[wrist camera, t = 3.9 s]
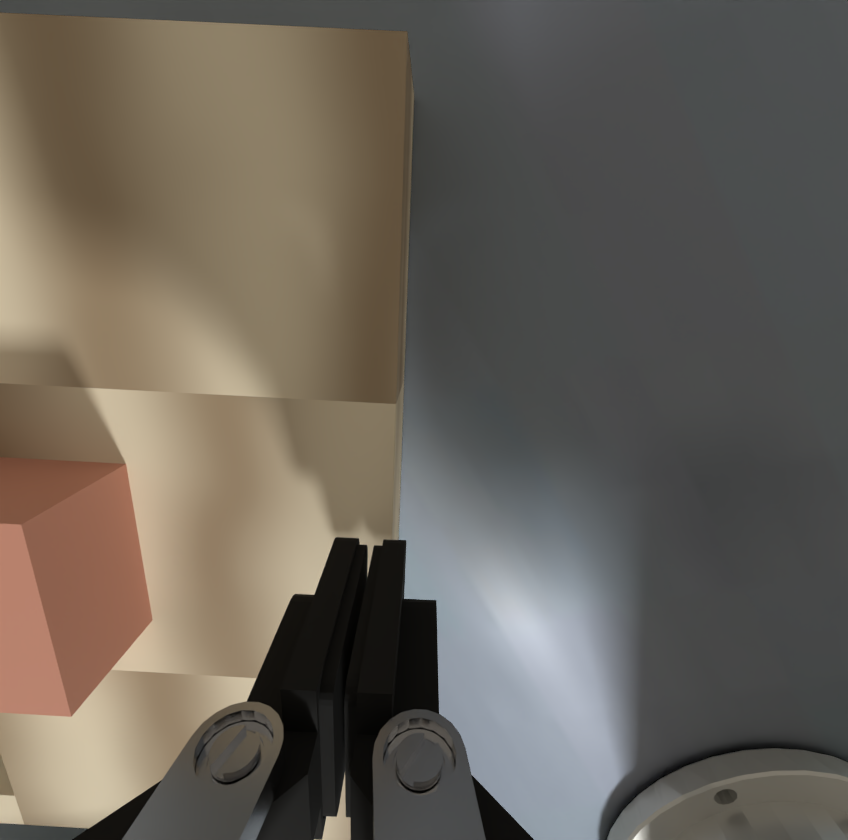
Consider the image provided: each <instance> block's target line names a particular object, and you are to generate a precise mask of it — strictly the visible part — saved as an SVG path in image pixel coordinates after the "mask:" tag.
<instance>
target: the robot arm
mask: <svg viewBox="0 0 848 840" xmlns="http://www.w3.org/2000/svg"><path fill="white" fill-rule="evenodd" d="M405 559H406V540H387V539H384V540H383V544H382V546H381V545H374V547H373V552H372V557H371V562H370V567H369V572H368V577H367V569H368V547H367V545H360V542H359V538H344V537H336V538H335V539H334V542H333V544H332V547H331V550H330V553H329V556H328V558H327V561H326V564H325V567H324V569H323V572H322V575H321V578H320V580H319V583H318V586H317V589H316V592H315V594H314V595H309V594H294V595H293V596H292V598H291V600H290V602H289V604H288V606H287V609H286V611H285V613H284V616H283V618H282V620H281V623H280V625H279V627H278V630H277V632H276V634H275V637H274V639H273V641H272V644H271V646H270V648H269V651H268V653H267V655H266V658H265V660H264V662H263V665H262V667H261V669H260V671H259V674H258V676H257V678H256V681H255V683H254V685H253V688H252V690H251V692H250V695H249V697H248V699H247V702H242V703H237V704H233V705H230V706H228V707H226V708H224V709H222V710H220V711H218V712H216V713H215V714H213V715H212V716H211V717H209V718H208V719H207V720H206V721H204V722H203V723H202V724H201V725H200V727H199V728H198V729H197V730H196V731H195V732H194V734H193V735H192V736H191V738H190V739H189V741H188V742H187V744H186V745H185V746H184V748H183V749H182V751H181V752H180V754H179V755H178V757H177V758H176V760H175V761H174V763H173V764H172V766H171V767H170V769H169V770H168V772H167V773H166V775H165V776H164V778H163V779H162V780H161V781H159V782H158V783H156V784H155V785H153V786H152V787H150V788H149V789H147V790H146V791H144V792H143V793H141V794H140V795H138V796H137V797H135V798H134V799H132V800H131V801H129V802H128V803H126V804H125V805H123V806H122V807H120V808H119V809H117V810H116V811H114V812H113V813H111V814H110V815H108V816H107V817H105V818H104V819H102V820H101V821H99V822H98V823H96V824H95V825H93V826H92V827H90V828H89V829H87V830H86V831H84V832H83V833H81V834H80V835H78V836H77V837H75V838H74V839H72V840H314V839H317V840H322V837H323V832H324V827H325V821H326V816H330V817H337V814H338V809H339V804H340V798H341V792H342V786H343V780H344V775H345V803H346V817H351V840H534V839H533V838H532V837H531V836H530V835H529V834H528V833H527V832H526V831H525V830H524V829H523V828H522V827H521V826H520V825H519V824H518V823H517V822H516V821H515V820H514V818H513V817H512V816H511V815H510V814H509V813H508V812H507V811H506V810H505V809H504V808H503V807H502V806H501V805H500V804H499V803H498V802H497V801H496V800H495V799H494V798H493V797H492V796H491V795H490V794H489V793H488V791H487V790H486V789H485V788H484V787H483V786H482V785H481V784H480V783H479V782H478V781H477V780H476V779H475V778H474V777H473V776H472V775H471V771H470V766H469V762H468V757H467V753H466V748H465V746H464V743H463V740H462V738H461V735H460V733H459V732H458V731H457V729H456V728H455V727H454V725H453V724H452V723H451V722H450V721H448V720H447V719H446V718H444V717H443V716H442V715H440V714H439V698H438V655H437V613H436V600H416V599H404V584H405ZM607 840H848V762H846V761H843V760H841V759H838V758H836V757H833V756H830V755H825V754H820V753H815V752H811V751H806V750H799V749H782V748H765V749H752V750H741V751H736V752H732V753H727V754H722V755H717V756H712V757H710V758H707V759H704V760H701V761H698V762H695V763H692V764H689V765H687V766H684V767H682V768H680V769H678V770H676V771H674V772H672V773H670V774H668V775H666V776H664V777H662V778H660V779H659V780H657V781H656V782H655V783H653V784H652V785H650V786H649V787H648V788H646V789H645V790H644V791H642V792H641V793H639V794H638V795H637V796H636V797H635V798H634V799H633V800H632V801H631V802H630V803H629V804H628V805H627V806H626V807H625V809H624V810H623V811H622V812H621V814H620V815H619V817H618V818H617V820H616V822H615V823H614V825H613V826H612V828H611V830H610V832H609V835H608V838H607Z"/></svg>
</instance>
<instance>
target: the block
mask: <svg viewBox="0 0 848 840" xmlns="http://www.w3.org/2000/svg"><path fill="white" fill-rule="evenodd" d="M152 620H153V619H152V613H151V607H150V601H149V595H148V589H147V584H146V578H145V572H144V566H143V560H142V554H141V548H140V543H139V537H138V531H137V525H136V519H135V513H134V507H133V502H132V496H131V490H130V484H129V478H128V472H127V466H126V464H119V463H101V462H82V461H64V460H45V459H27V458H8V457H0V713H14V714H31V715H49V716H66V717H72V716H73V714H74V713H75V712H76V711H77V710H78V708H79V707H80V706H81V705H82V704H83V702H84V701H85V700H86V699H87V698H88V696H89V695H90V694H91V693H92V692H93V691H94V689H95V688H96V687H97V686H98V685H99V683H100V682H101V681H102V680H103V679H104V677H105V676H106V675H107V674H108V673H109V672H110V670H111V669H112V668H113V667H114V666H115V664H116V663H117V662H118V661H119V660H120V658H121V657H122V656H123V655H124V654H125V652H126V651H127V650H128V649H129V648H130V647H131V645H132V644H133V643H134V642H135V641H136V639H137V638H138V637H139V636H140V635H141V633H142V632H143V631H144V630H145V629H146V627H147V626H148V625H149V624H150V623H151V622H152Z"/></svg>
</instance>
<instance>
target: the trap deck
mask: <svg viewBox="0 0 848 840" xmlns="http://www.w3.org/2000/svg"><path fill="white" fill-rule="evenodd" d="M413 116H414V89H413V80H412V70H411V61H410V52H409V42H408V33H407V31H386V30H364V29H343V28H321V27H300V26H278V25H256V24H235V23H213V22H192V21H170V20H149V19H127V18H105V17H84V16H62V15H41V14H19V13H0V457H8V458H27V459H45V460H64V461H82V462H101V463H119V464H126V466H127V472H128V478H129V484H130V490H131V496H132V502H133V507H134V513H135V519H136V525H137V531H138V537H139V543H140V548H141V554H142V560H143V566H144V572H145V578H146V584H147V589H148V595H149V601H150V607H151V613H152V619H153V620H152V622H151V623H150V624H149V625H148V626H147V627H146V629H145V630H144V631H143V632H142V633H141V635H140V636H139V637H138V638H137V639H136V641H135V642H134V643H133V644H132V645H131V647H130V648H129V649H128V650H127V651H126V652H125V654H124V655H123V656H122V657H121V658H120V660H119V661H118V662H117V663H116V664H115V666H114V667H113V668H112V669H111V670H110V672H109V673H108V674H107V675H106V676H105V677H104V679H103V680H102V681H101V682H100V683H99V685H98V686H97V687H96V688H95V689H94V691H93V692H92V693H91V694H90V695H89V696H88V698H87V699H86V700H85V701H84V702H83V704H82V705H81V706H80V707H79V708H78V710H77V711H76V712H75V713H74V714H73V716H72V717H66V716H49V715H31V714H14V713H0V823H6V824H23V825H39V826H56V827H72V828H90V827H92V826H93V825H95V824H96V823H98V822H99V821H101V820H102V819H104V818H105V817H107V816H108V815H110V814H111V813H113V812H114V811H116V810H117V809H119V808H120V807H122V806H123V805H125V804H126V803H128V802H129V801H131V800H132V799H134V798H135V797H137V796H138V795H140V794H141V793H143V792H144V791H146V790H147V789H149V788H150V787H152V786H153V785H155V784H156V783H158V782H159V781H161V780H162V779H163V778H164V776H165V775H166V773H167V772H168V770H169V769H170V767H171V766H172V764H173V763H174V761H175V760H176V758H177V757H178V755H179V754H180V752H181V751H182V749H183V748H184V746H185V745H186V744H187V742H188V741H189V739H190V738H191V736H192V735H193V734H194V732H195V731H196V730H197V729H198V728H199V727H200V725H201V724H202V723H203V722H204V721H206V720H207V719H208V718H209V717H211V716H212V715H213V714H215V713H216V712H218V711H220V710H222V709H224V708H226V707H228V706H230V705H233V704H237V703H242V702H247V699H248V697H249V695H250V692H251V690H252V688H253V685H254V683H255V681H256V678H257V676H258V674H259V671H260V669H261V667H262V665H263V662H264V660H265V658H266V655H267V653H268V651H269V648H270V646H271V644H272V641H273V639H274V637H275V634H276V632H277V630H278V627H279V625H280V623H281V620H282V618H283V616H284V613H285V611H286V609H287V606H288V604H289V602H290V600H291V598H292V596H293V595H294V594H309V595H314V594H315V592H316V589H317V586H318V583H319V580H320V578H321V575H322V572H323V569H324V567H325V564H326V561H327V558H328V556H329V553H330V550H331V547H332V544H333V542H334V539H335V538H336V537H344V538H359V542H360V545H367V547H368V569H367V577H368V572H369V567H370V562H371V557H372V552H373V547H374V545H381V546H382V544H383V540H384V539H387V540H399V513H400V485H401V456H402V428H403V400H404V371H405V343H406V315H407V286H408V258H409V230H410V201H411V173H412V145H413ZM314 840H317V839H314ZM322 840H351V817H346V803H345V775H344V780H343V786H342V792H341V798H340V804H339V809H338V814H337V817H330V816H326V821H325V827H324V832H323V837H322Z"/></svg>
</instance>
